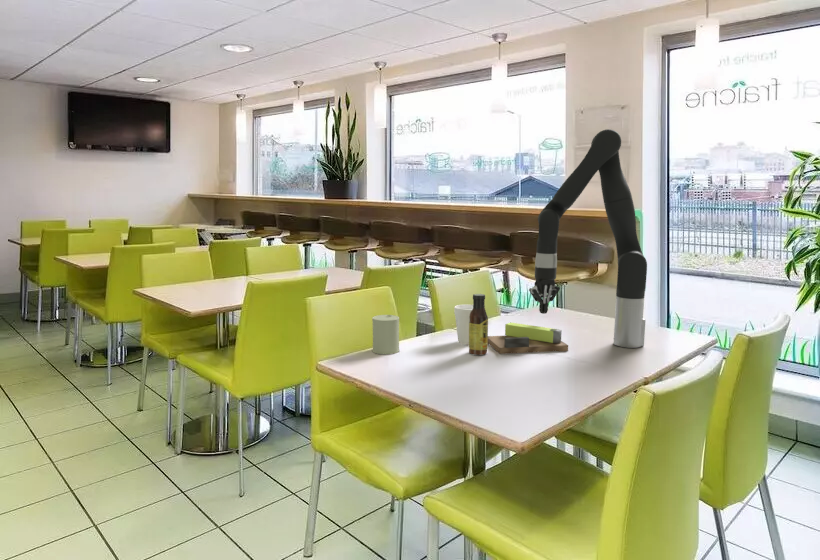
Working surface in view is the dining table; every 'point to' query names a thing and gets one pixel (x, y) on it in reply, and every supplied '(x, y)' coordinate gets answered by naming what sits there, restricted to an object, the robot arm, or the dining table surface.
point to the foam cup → (463, 322)
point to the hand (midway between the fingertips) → (543, 313)
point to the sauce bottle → (478, 326)
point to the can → (385, 334)
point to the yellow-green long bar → (533, 332)
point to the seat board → (530, 349)
